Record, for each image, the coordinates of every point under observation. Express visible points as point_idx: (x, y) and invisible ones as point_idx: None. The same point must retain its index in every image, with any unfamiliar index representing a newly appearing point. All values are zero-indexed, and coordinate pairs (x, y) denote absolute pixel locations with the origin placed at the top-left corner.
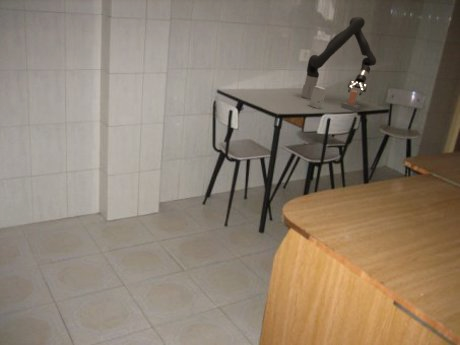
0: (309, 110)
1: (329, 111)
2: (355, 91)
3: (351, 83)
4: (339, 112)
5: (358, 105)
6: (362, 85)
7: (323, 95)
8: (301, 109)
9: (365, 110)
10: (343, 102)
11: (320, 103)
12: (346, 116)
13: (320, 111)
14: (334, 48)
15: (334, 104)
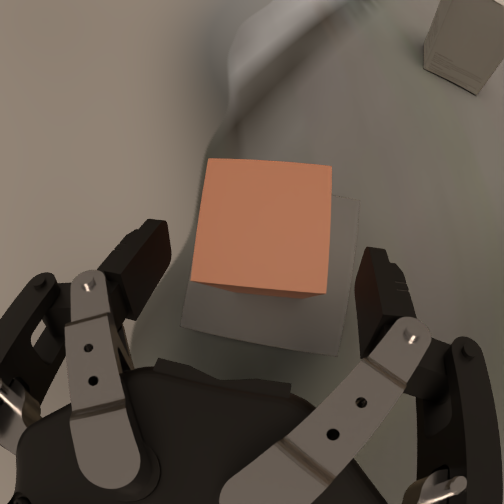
0: (415, 4)
1: (361, 34)
2: (242, 228)
3: (425, 476)
4: (313, 53)
5: (190, 281)
6: (61, 409)
7: (444, 2)
8: (435, 2)
9: (138, 344)
10: (355, 243)
11: (430, 33)
12: (258, 20)
13: (386, 12)
14: None
15: (417, 276)
